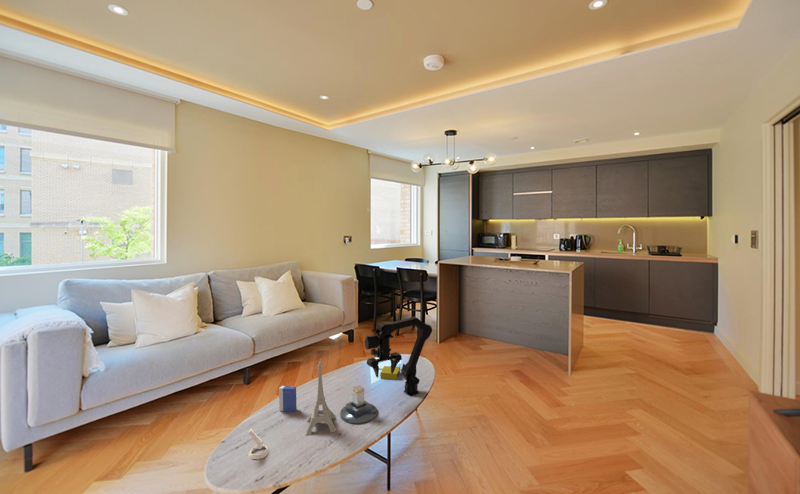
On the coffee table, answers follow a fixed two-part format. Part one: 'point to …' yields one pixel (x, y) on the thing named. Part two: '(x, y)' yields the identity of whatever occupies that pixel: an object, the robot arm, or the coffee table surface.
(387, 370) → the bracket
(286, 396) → the walkman
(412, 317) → the robot arm
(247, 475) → the coffee table surface
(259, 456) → the hook
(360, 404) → the square box
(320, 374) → the eiffel tower
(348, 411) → the square socket base
